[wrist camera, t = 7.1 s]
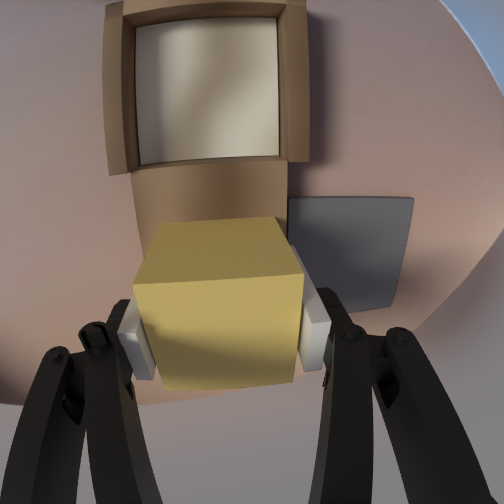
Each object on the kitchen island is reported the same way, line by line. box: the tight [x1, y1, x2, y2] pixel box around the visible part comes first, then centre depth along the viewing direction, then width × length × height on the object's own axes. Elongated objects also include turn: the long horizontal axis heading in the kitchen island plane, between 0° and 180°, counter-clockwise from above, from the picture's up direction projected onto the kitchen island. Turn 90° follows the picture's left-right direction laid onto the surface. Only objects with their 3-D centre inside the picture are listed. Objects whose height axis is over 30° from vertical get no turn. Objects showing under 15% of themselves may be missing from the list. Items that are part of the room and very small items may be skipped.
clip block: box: [132, 217, 304, 391], centre depth 14 cm, size 6×6×6 cm
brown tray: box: [102, 0, 310, 258], centre depth 15 cm, size 10×20×2 cm, turn 1°
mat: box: [287, 196, 413, 313], centre depth 19 cm, size 9×9×1 cm
